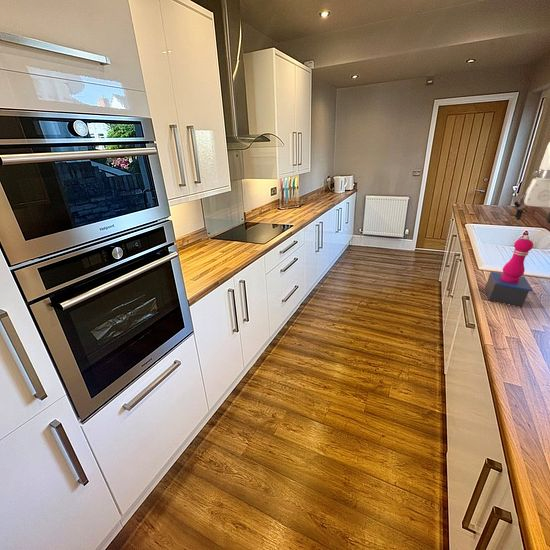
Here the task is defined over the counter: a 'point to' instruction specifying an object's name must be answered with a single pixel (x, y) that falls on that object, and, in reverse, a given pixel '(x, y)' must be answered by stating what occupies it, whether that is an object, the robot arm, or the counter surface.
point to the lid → (520, 285)
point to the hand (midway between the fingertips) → (532, 220)
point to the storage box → (505, 294)
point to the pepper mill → (517, 260)
